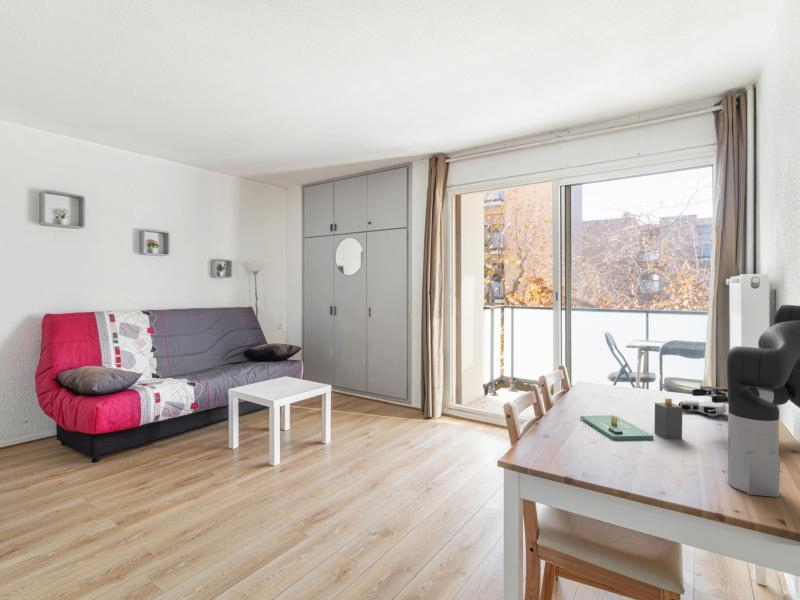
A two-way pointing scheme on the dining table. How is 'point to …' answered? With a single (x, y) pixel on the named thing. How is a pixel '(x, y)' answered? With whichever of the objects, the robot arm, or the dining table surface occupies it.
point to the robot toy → (704, 407)
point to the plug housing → (668, 420)
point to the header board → (617, 428)
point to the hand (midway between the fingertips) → (702, 395)
